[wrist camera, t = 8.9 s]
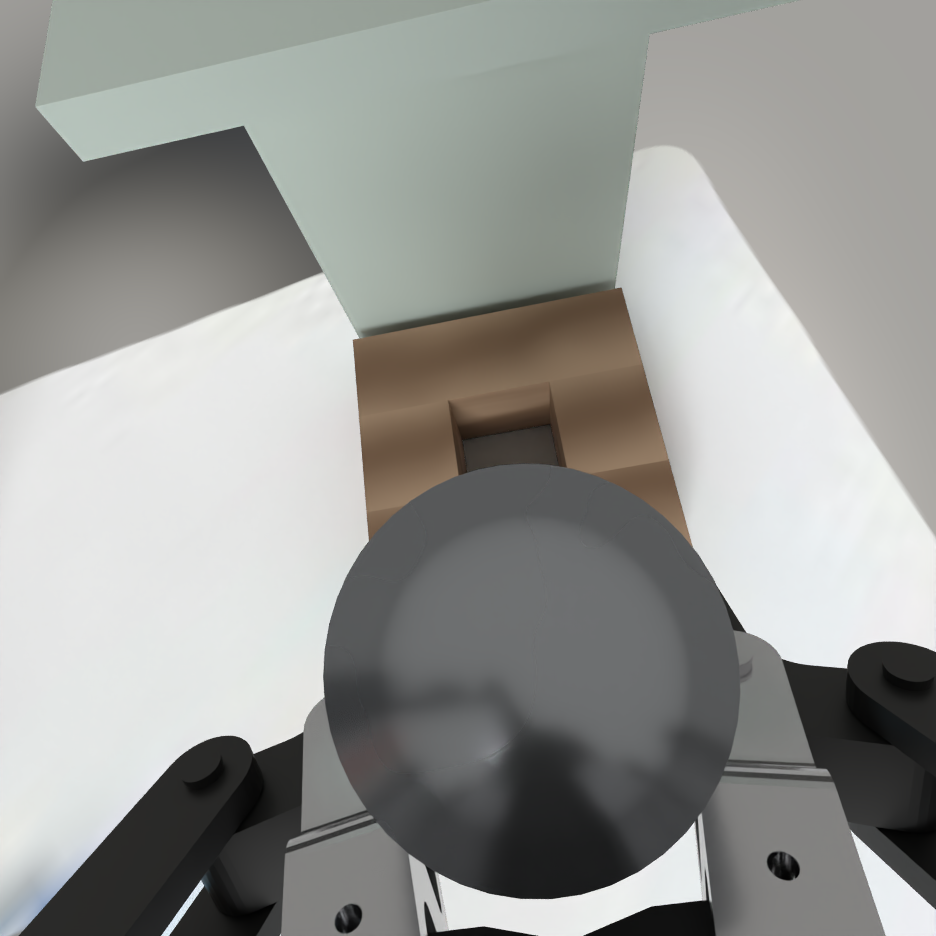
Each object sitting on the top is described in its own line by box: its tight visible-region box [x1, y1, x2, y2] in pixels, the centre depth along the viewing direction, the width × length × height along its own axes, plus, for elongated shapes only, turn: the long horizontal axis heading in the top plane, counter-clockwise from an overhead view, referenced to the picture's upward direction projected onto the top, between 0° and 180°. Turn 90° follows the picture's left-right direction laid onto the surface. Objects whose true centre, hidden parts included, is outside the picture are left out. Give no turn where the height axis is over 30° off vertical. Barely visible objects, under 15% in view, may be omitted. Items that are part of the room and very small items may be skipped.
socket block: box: [353, 288, 692, 546], centre depth 32 cm, size 14×14×5 cm
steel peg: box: [323, 463, 740, 899], centre depth 11 cm, size 4×4×12 cm
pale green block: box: [35, 0, 799, 338], centre depth 24 cm, size 11×14×25 cm
